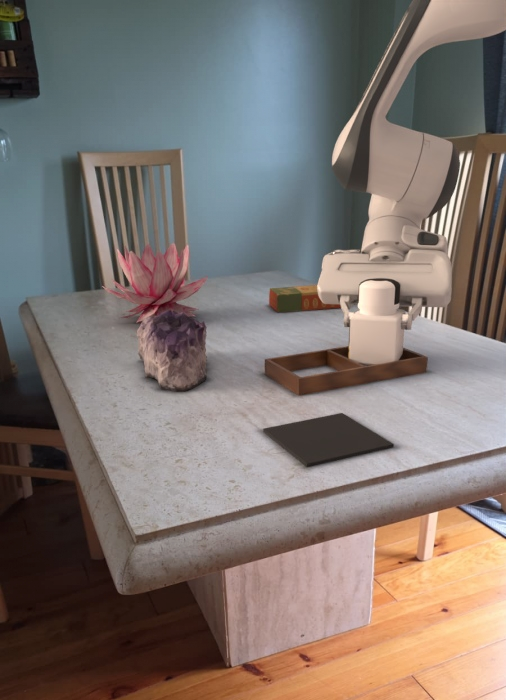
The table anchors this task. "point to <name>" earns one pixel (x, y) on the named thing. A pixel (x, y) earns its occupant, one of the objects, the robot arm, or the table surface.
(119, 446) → the table surface
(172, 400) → the table surface
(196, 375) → the geode
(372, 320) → the medicine bottle
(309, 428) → the coaster
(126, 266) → the decorative flower
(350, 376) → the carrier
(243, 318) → the table surface
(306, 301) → the carton
